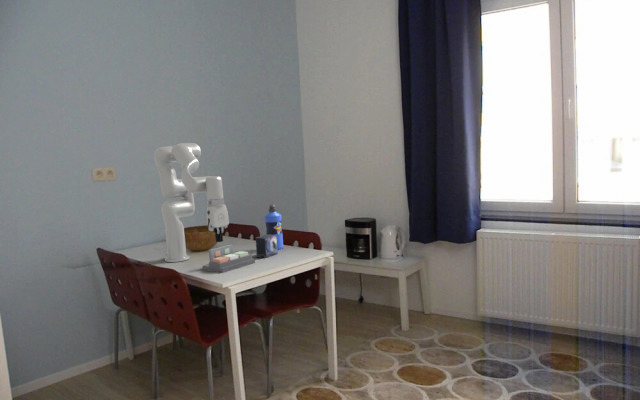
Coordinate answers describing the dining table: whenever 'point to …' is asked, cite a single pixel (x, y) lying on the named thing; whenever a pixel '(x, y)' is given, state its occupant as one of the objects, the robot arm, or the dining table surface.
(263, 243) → the small box
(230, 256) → the grey key
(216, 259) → the terracotta key
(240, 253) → the sage key
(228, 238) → the dining table surface
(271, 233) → the water bottle
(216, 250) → the keypad
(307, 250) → the dining table surface
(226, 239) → the dining table surface
